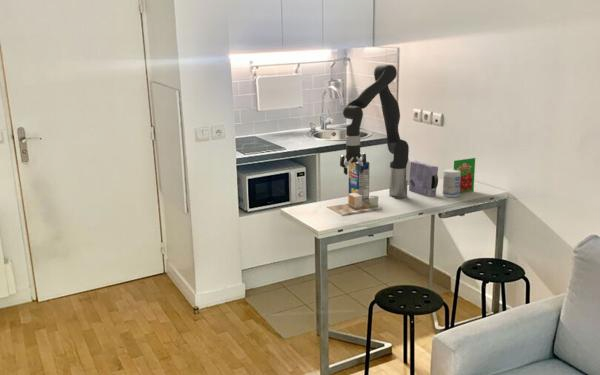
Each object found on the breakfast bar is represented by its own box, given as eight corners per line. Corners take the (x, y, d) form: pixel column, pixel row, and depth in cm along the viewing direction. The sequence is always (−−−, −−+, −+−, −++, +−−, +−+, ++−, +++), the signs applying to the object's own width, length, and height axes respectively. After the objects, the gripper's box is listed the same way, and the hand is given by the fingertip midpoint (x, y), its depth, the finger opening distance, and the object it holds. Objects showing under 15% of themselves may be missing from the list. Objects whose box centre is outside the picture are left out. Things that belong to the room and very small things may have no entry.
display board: (364, 203, 359) (364, 199, 358) (382, 211, 343) (382, 207, 343) (326, 209, 349) (326, 205, 348) (342, 217, 333) (342, 213, 333)
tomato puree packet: (453, 195, 372) (454, 160, 366) (451, 194, 373) (453, 160, 367) (474, 191, 378) (475, 157, 373) (472, 191, 379) (474, 157, 374)
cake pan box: (438, 196, 370) (439, 165, 366) (431, 197, 367) (433, 167, 363) (414, 189, 385) (415, 160, 381) (408, 190, 383) (409, 161, 378)
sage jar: (375, 206, 349) (375, 195, 347) (379, 208, 345) (379, 197, 343) (368, 207, 347) (368, 196, 345) (372, 209, 343) (372, 198, 341)
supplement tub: (458, 198, 364) (459, 173, 361) (441, 197, 368) (442, 171, 364) (460, 194, 373) (461, 169, 369) (444, 192, 376) (445, 168, 373)
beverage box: (358, 202, 360) (358, 163, 354) (348, 197, 370) (348, 160, 364) (369, 200, 363) (369, 162, 357) (358, 196, 372) (359, 158, 367)
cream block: (362, 206, 348) (362, 195, 347) (354, 207, 346) (354, 196, 345) (355, 203, 354) (355, 192, 353) (348, 204, 352) (348, 193, 351)
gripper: (362, 141, 347) (362, 170, 352) (337, 143, 343) (338, 173, 347) (368, 143, 341) (368, 173, 345) (343, 146, 336) (343, 176, 340)
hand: (353, 173), depth 346 cm, fingers open, 8 cm apart
